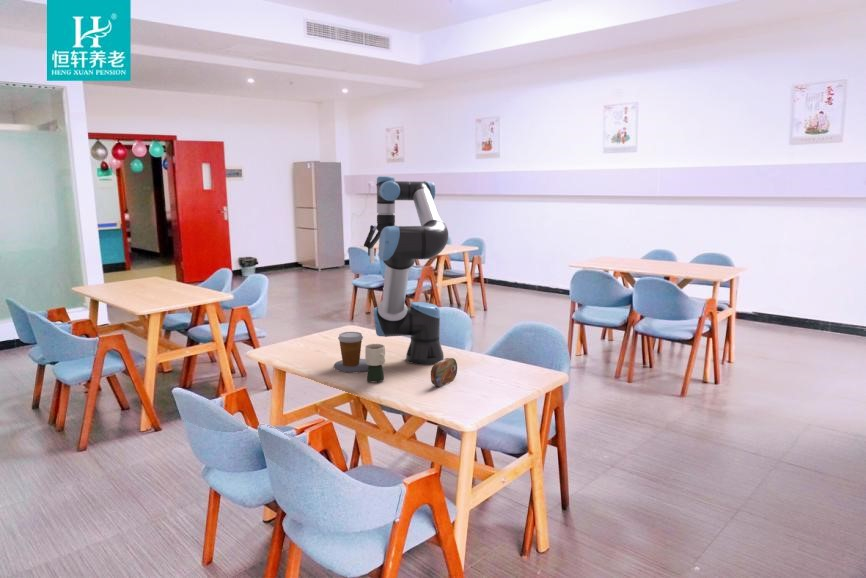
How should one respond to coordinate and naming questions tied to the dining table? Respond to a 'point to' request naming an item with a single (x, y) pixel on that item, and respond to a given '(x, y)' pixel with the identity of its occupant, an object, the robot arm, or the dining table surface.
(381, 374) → the character mug
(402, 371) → the dining table surface
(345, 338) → the disposable coffee cup
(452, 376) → the tin
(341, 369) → the mat
